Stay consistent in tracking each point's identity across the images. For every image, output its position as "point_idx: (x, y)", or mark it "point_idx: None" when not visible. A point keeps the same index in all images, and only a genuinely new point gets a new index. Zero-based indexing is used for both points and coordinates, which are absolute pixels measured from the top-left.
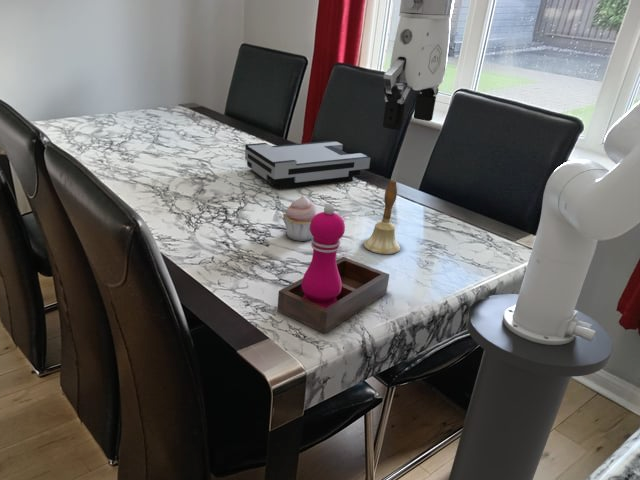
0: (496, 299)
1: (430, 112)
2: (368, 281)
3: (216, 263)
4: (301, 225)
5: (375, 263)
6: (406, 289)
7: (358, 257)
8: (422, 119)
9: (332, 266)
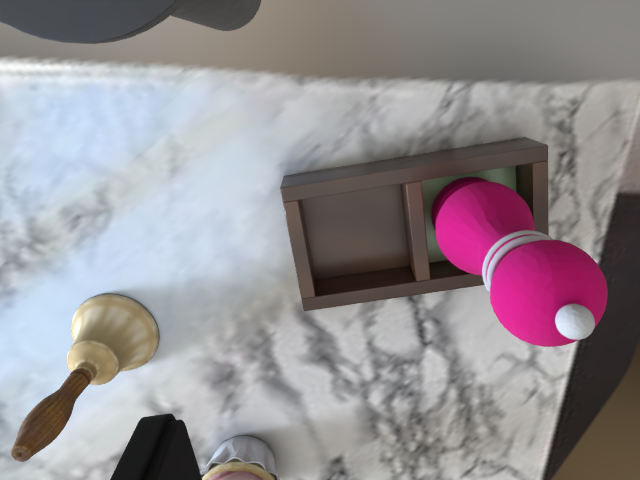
0: (39, 14)
1: (159, 470)
2: (304, 220)
3: (477, 453)
4: (265, 468)
5: (193, 285)
6: (227, 161)
7: (206, 325)
8: (197, 464)
9: (507, 221)
